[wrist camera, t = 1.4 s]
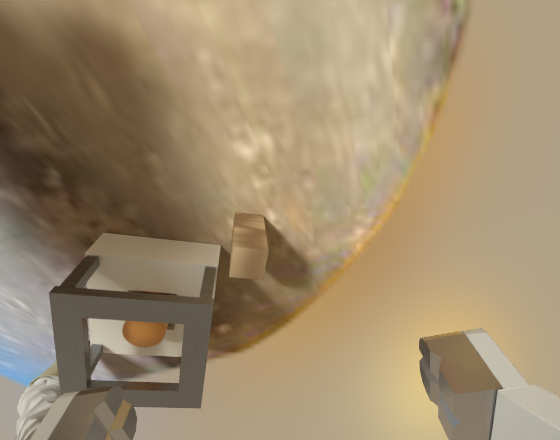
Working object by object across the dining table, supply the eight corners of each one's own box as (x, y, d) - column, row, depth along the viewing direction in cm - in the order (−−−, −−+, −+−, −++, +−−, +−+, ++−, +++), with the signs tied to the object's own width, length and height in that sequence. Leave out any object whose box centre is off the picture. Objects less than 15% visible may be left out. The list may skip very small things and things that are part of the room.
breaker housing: (106, 324, 44) (90, 352, 40) (103, 232, 39) (84, 253, 34) (210, 330, 46) (206, 358, 42) (220, 245, 41) (218, 265, 37)
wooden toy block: (231, 237, 41) (229, 277, 33) (235, 212, 40) (233, 246, 31) (259, 240, 42) (263, 280, 33) (263, 215, 40) (268, 250, 32)
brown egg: (136, 315, 40) (122, 346, 35) (136, 286, 38) (122, 314, 34) (172, 318, 41) (164, 348, 36) (174, 289, 39) (165, 317, 34)
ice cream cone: (56, 331, 44) (-28, 446, 30) (92, 321, 44) (24, 431, 30) (75, 357, 46) (4, 476, 32) (109, 347, 46) (53, 462, 32)
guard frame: (90, 352, 40) (61, 405, 33) (84, 253, 34) (49, 292, 28) (206, 358, 42) (200, 408, 36) (218, 265, 37) (213, 305, 30)
